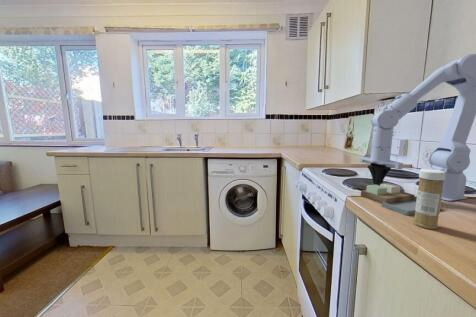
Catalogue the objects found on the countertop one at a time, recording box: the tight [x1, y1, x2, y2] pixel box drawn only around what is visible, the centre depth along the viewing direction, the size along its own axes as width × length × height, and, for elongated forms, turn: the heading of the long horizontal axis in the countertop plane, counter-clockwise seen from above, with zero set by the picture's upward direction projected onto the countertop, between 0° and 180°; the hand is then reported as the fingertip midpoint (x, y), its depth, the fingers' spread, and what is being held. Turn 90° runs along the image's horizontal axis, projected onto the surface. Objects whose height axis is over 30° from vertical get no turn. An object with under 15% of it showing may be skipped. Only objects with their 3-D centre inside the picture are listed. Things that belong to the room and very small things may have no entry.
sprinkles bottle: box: [413, 168, 446, 230], centre depth 53 cm, size 5×5×13 cm
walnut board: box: [360, 189, 415, 205], centre depth 73 cm, size 12×9×2 cm
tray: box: [381, 197, 443, 216], centre depth 65 cm, size 14×7×1 cm, turn 109°
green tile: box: [365, 184, 387, 195], centre depth 73 cm, size 4×4×2 cm
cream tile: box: [380, 182, 402, 193], centre depth 75 cm, size 4×4×2 cm
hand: (377, 185), depth 79 cm, fingers closed
